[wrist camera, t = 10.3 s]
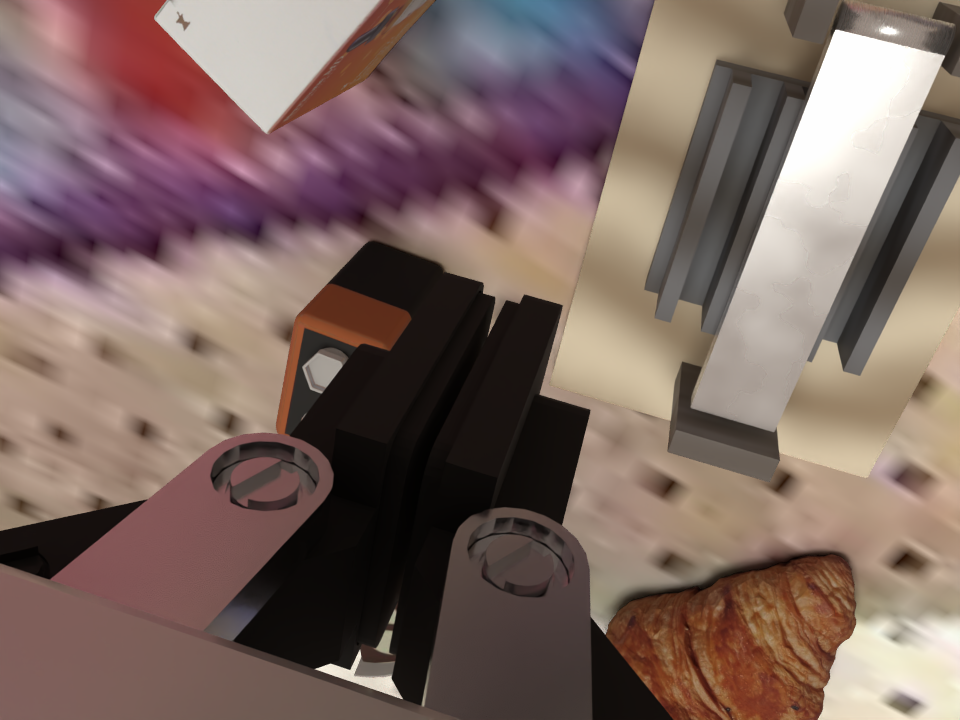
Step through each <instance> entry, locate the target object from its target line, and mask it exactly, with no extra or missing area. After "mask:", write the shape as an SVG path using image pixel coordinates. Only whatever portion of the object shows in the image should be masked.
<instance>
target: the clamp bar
mask: <svg viewBox="0 0 960 720" xmlns="http://www.w3.org/2000/svg"><path fill="white" fill-rule="evenodd" d="M955 31H956V25H955V24H953V23H948V22H944V21H940V20H936V19H931V18H927V17H923V16H918V15H914V14H910V13H906V12H901V11H897V10H893V9H889V8H884V7H880V6H876V5H871V4H867V3H863V2H859V1H854V0H843V1H842V2H841V4H840V6H839V9H838V11H837V14H836V16H835V19H834V22H833V25H832V28H831V31H830V33H829V36H828V38H827V41H826V44H825V46H824V49H823V52H822V54H821V57H820V59H819V62H818V65H817V67H816V70H815V73H814V75H813V78H812V80H811V83H810V86H809V88H808V91H807V94H806V96H805V99H804V101H803V104H802V107H801V109H800V112H799V115H798V117H797V120H796V122H795V125H794V128H793V130H792V133H791V136H790V138H789V141H788V143H787V146H786V149H785V151H784V154H783V157H782V159H781V162H780V164H779V167H778V170H777V172H776V175H775V178H774V180H773V183H772V185H771V188H770V191H769V193H768V196H767V199H766V201H765V204H764V206H763V209H762V212H761V214H760V217H759V220H758V222H757V225H756V227H755V230H754V233H753V235H752V238H751V241H750V243H749V246H748V248H747V251H746V254H745V256H744V259H743V262H742V264H741V267H740V269H739V272H738V275H737V277H736V280H735V283H734V285H733V288H732V290H731V293H730V296H729V298H728V301H727V304H726V306H725V309H724V311H723V314H722V317H721V319H720V322H719V325H718V327H717V330H716V333H715V335H714V338H713V340H712V343H711V346H710V348H709V351H708V354H707V356H706V359H705V361H704V364H703V367H702V369H701V372H700V375H699V377H698V380H697V382H696V385H695V388H694V390H693V393H692V396H691V408H692V409H696V410H699V411H703V412H706V413H709V414H713V415H716V416H720V417H723V418H727V419H730V420H734V421H737V422H740V423H744V424H747V425H751V426H754V427H758V428H761V429H764V430H768V431H771V432H775V430H776V427H777V425H778V423H779V421H780V419H781V416H782V414H783V412H784V410H785V408H786V405H787V403H788V401H789V399H790V397H791V394H792V392H793V390H794V388H795V386H796V383H797V381H798V379H799V377H800V374H801V372H802V370H803V368H804V366H805V363H806V361H807V359H808V357H809V355H810V352H811V350H812V348H813V346H814V344H815V341H816V339H817V337H818V335H819V333H820V330H821V328H822V326H823V324H824V322H825V319H826V317H827V315H828V313H829V311H830V308H831V306H832V304H833V302H834V300H835V297H836V295H837V293H838V291H839V289H840V286H841V284H842V282H843V280H844V278H845V275H846V273H847V271H848V269H849V267H850V264H851V262H852V260H853V258H854V256H855V253H856V251H857V249H858V247H859V245H860V242H861V240H862V238H863V236H864V233H865V231H866V229H867V227H868V225H869V222H870V220H871V218H872V216H873V214H874V211H875V209H876V207H877V205H878V203H879V200H880V198H881V196H882V194H883V192H884V189H885V187H886V185H887V183H888V181H889V178H890V176H891V174H892V172H893V170H894V167H895V165H896V163H897V161H898V159H899V156H900V154H901V152H902V150H903V148H904V145H905V143H906V141H907V139H908V137H909V134H910V132H911V130H912V128H913V126H914V123H915V121H916V119H917V117H918V115H919V112H920V110H921V108H922V106H923V104H924V101H925V99H926V97H927V95H928V92H929V90H930V88H931V86H932V84H933V81H934V79H935V77H936V75H937V73H938V70H939V68H940V66H941V64H942V62H943V59H944V57H945V55H946V54H947V52H948V50H949V48H950V46H951V44H952V41H953V38H954V35H955Z"/></svg>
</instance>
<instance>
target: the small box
mask: <svg viewBox="0 0 960 720" xmlns="http://www.w3.org/2000/svg"><path fill="white" fill-rule="evenodd" d="M435 1H436V0H167V1H166V2H165V4H164V5H163V6H162V7H161V9H160V10H159V11H158V12H157V14H156V15H155V17H154V18H155V20H156V21H157V22H158V23H159V24H160V25H161V27H162V28H163V29H164V30H165V31H166V32H167V33H168V34H169V35H170V36H171V37H172V38H173V39H174V40H175V41H176V42H177V43H178V44H179V45H180V46H181V47H182V48H183V49H184V50H185V51H186V52H187V54H188V55H189V56H190V57H191V58H192V59H193V60H194V61H195V62H196V63H197V64H198V65H199V66H200V67H201V68H202V69H203V70H204V71H205V72H206V73H207V74H208V75H209V76H210V77H211V78H212V79H213V80H214V81H215V82H216V83H217V84H218V85H219V86H220V87H221V88H222V89H223V90H224V91H225V93H226V94H227V95H228V96H229V97H230V98H231V99H232V100H233V101H234V102H235V103H236V104H237V105H238V106H239V107H240V108H241V109H242V110H243V111H244V112H245V113H246V114H247V115H248V116H249V117H250V118H251V119H252V120H253V121H254V122H255V123H256V124H257V125H258V126H259V127H260V128H261V129H262V130H263V131H264V132H265V133H267V134H270V133H272V132H273V131H275V130H277V129H278V128H280V127H282V126H284V125H285V124H287V123H289V122H291V121H293V120H294V119H296V118H298V117H300V116H302V115H303V114H305V113H307V112H309V111H311V110H312V109H314V108H316V107H318V106H320V105H322V104H323V103H325V102H327V101H329V100H330V99H332V98H334V97H336V96H338V95H339V94H341V93H343V92H345V91H346V90H348V89H350V88H352V87H353V86H355V85H357V84H359V83H361V82H362V81H364V80H365V79H366V78H367V77H368V76H369V75H370V74H371V72H372V71H373V70H374V69H375V68H376V67H377V65H378V64H379V63H380V62H381V60H382V59H383V58H384V57H385V56H386V55H387V53H388V52H389V51H390V50H391V49H392V48H393V47H394V45H395V44H396V43H397V42H398V41H399V40H400V39H401V38H402V36H403V35H404V34H405V33H406V32H407V31H408V30H409V29H410V28H411V27H412V25H413V24H414V23H415V22H416V21H417V20H418V19H419V18H420V17H421V16H422V15H423V14H424V13H425V11H426V10H427V9H428V8H429V7H430V6H431V5H432V4H433V3H434V2H435Z"/></svg>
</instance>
